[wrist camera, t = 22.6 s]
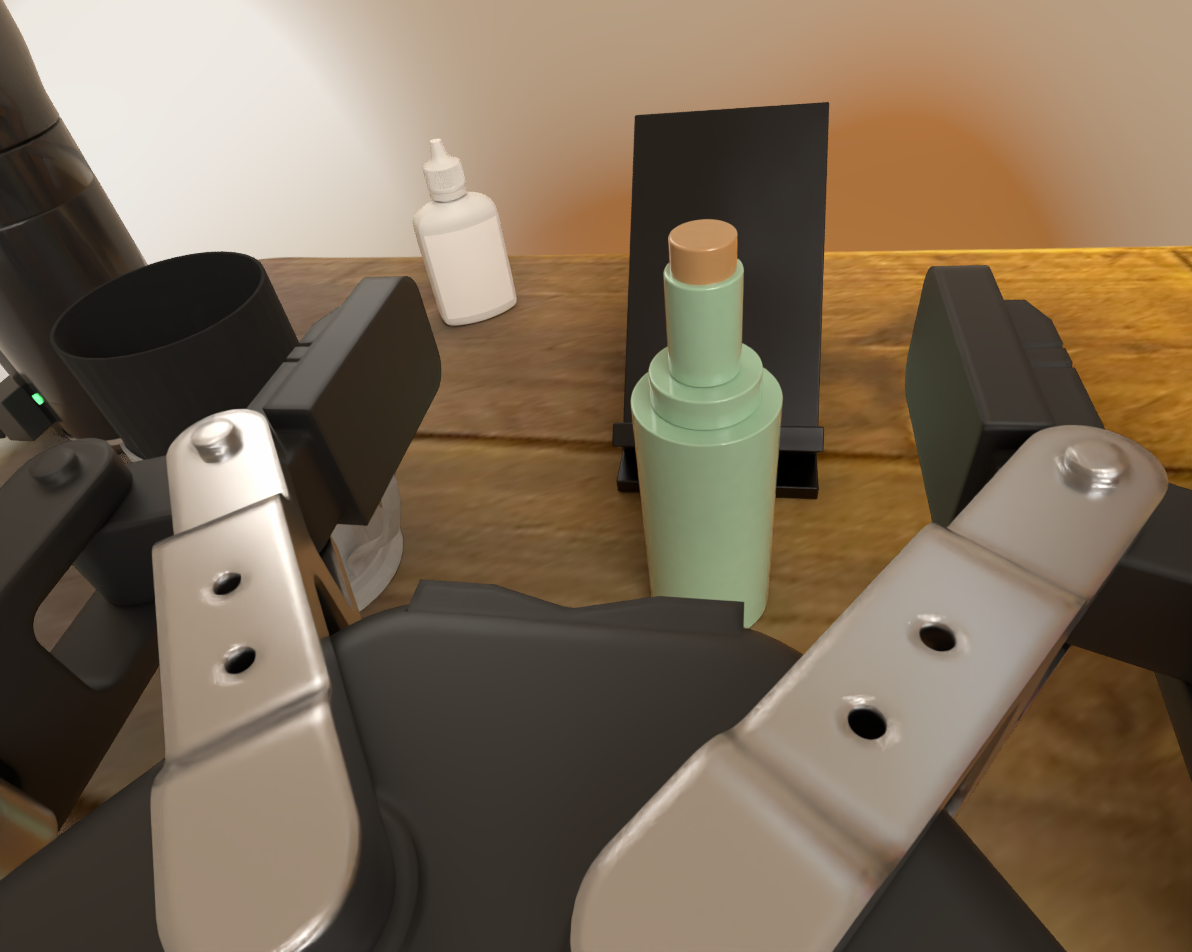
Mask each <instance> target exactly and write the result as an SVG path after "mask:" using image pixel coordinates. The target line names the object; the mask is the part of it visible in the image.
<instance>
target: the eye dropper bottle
mask: <svg viewBox="0 0 1192 952" xmlns="http://www.w3.org/2000/svg"><path fill="white" fill-rule="evenodd" d="M430 149H431V158H430V160H429V161H428V162H426V163H425V164H424V166H423V171H424V175H425V178H426V182H427V186H428V189H429V193H430V196H431V199H432V200H431V201H430V202H428V203H427V204H426V205H424V206H423V207H421V208H420V209H419V211H417V212H416V214H415V216H414V218H413V226H414V230H415V233H416V237H417V241H418V244H419V247H420V251H421V254H422V258H423V261H424V264H425V268H426V271H427V274H428V278H429V281H430V284H431V288H432V291H433V294H434V297H435V301H436V304H437V307H438V310H439V313H440V315H441V317H442V319H443V320H444V322H445V323H447V324H448V325H452V326H457V325H465V324H471V323H476V322H480V321H483V320H487V319H489V318H492V317H495V316H497V315H499V314H501V313H503V312H505V311H507V310H509V309H510V308H512V307H513V306H514V305H515V304H516V300H517V298H516V292H515V287H514V283H513V278H512V273H511V269H510V264H509V260H508V255H507V250H506V246H505V241H504V237H503V232H502V228H501V224H500V219H499V215H498V211H497V208H496V206H495V204H494V203H493V201H492V200H491V199H490V198H489V197H488V196H486V195H484V194H481V193H477V192H467V186H466V182H465V178H464V174H463V169H462V165H461V161H460V160H459V159H458V158H457V157H454V156H450V155H448V154H447V152H446V150H445V148H444V146H443V143H442V141H441V139H433V140H431V141H430Z"/></svg>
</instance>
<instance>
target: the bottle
mask: <svg viewBox="0 0 1192 952" xmlns="http://www.w3.org/2000/svg"><path fill="white" fill-rule="evenodd" d="M668 246H669V263H668V264H667V265H666V267H665V269H664V272H663V278H664V295H665V312H666V329H667V347H666V348H664V349H663V350H661V351H660V352H659V353H658V354H657V355H656V356H655V357H654V358H653V360H652V362H651V363H650V366H649V370H648V372H647V373H646V374H645V375H644V376H643V377H642V378H641V379H640V380H639V381H638V383H637V384H636V386H635V388H634V390H633V392H632V395H631V412H632V421H633V431H634V440H635V449H636V459H637V468H638V478H639V487H640V496H641V506H642V515H643V524H644V534H645V543H646V552H647V562H648V571H649V580H650V590H651V597H655V596H668V597H682V598H697V599H711V600H726V601H740V602H744V627H745V628H749V627H751V626H752V625H753V624H754V623H755V622H756V621H757V620H758V619H759V618H760V616H761V615H762V613H763V612H764V610H765V607H766V605H767V601H768V591H769V578H770V565H771V551H772V538H773V524H774V511H775V498H776V484H777V471H778V458H779V444H780V431H781V418H782V404H783V395H782V390H781V387H780V385H779V383H778V381H777V380H776V379H775V377H774V376H773V375H772V374H771V373H770V372H769V371H768V370H766V369H765V368H763V364H762V361H761V359H760V357H759V356H758V354H757V353H756V352H755V351H754V350H753V349H751V348H750V347H749V346H747V345H745V344H743V343H742V330H743V290H744V267H743V264H742V262H741V261H740V260H739V259H738V258H737V250H738V233H737V230H736V228H735V227H734V226H733V225H731V224H729V223H727V222H724V221H720V220H714V219H702V220H694V221H690V222H686V223H683V224H681V225H679V226H677V227H675V228H674V229H673V230H672V231H671V232H670V234H669V237H668Z"/></svg>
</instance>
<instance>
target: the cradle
mask: <svg viewBox="0 0 1192 952" xmlns="http://www.w3.org/2000/svg"><path fill="white" fill-rule="evenodd" d="M828 123H829V103H828V102H825V103H811V104H810V103H809V104H796V105H795V104H794V105H781V106H765V107H750V108H735V109H721V110H707V111H691V112H677V113H662V114H647V115H636V116H635V126H634V152H633V179H632V206H631V233H630V259H629V286H628V313H627V340H626V367H625V394H624V420H623V423H614V424H613V442H612V445H613V447H616V448H619V449H622V450H623V454H622V459H621V463H620V468H619V473H618V477H617V487H618V491H623V492H640V487H639V478H638V468H637V459H636V449H635V440H634V431H633V421H632V412H631V395H632V392H633V390H634V388H635V386H636V384H637V383H638V381H639V380H640V379H641V378H642V377H643V376H644V375H645V374H646V373H647V372H648V370H649V366H650V363H651V362H652V360H653V358H654V357H655V356H656V355H657V354H658V353H659V352H660V351H661V350H663V349H664V348H666V347H667V329H666V312H665V295H664V278H663V272H664V269H665V267H666V265H667V264H668V263H669V246H668V237H669V234H670V232H671V231H672V230H673V229H674V228H675V227H677V226H679V225H681V224H683V223H686V222H690V221H694V220H702V219H714V220H720V221H724V222H727V223H729V224H731V225H733V226H734V227H735V228H736V230H737V233H738V250H737V258H738V259H739V260H740V261H741V262H742V264H743V267H744V290H743V330H742V343H743V344H745V345H747V346H749V347H750V348H751V349H753V350H754V351H755V352H756V353H757V354H758V356H759V357H760V359H761V361H762V364H763V368H765V369H766V370H768V371H769V372H770V373H771V374H772V375H773V376H774V377H775V379H776V380H777V381H778V383H779V385H780V387H781V390H782V395H783V404H782V418H781V431H780V444H779V458H778V471H777V484H776V498H801V499H817V497H818V490H819V485H818V470H817V454H819V453H821V452H823V445H824V427H818V416H819V386H820V357H821V328H822V298H823V269H824V240H825V238H824V237H825V209H826V181H827V180H826V179H827V150H828Z"/></svg>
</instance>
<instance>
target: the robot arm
mask: <svg viewBox="0 0 1192 952" xmlns="http://www.w3.org/2000/svg"><path fill="white" fill-rule="evenodd" d="M144 266H147V263H146V261H145V259H144V258H143V256H142V254H141V253H140V251H139V249H138V248H137V246H136V244H135V243H134V241H133V239H132V238H131V236H130V234H129V232H128V231H127V229H126V227H125V226H124V224H123V222H122V220H121V219H120V217H119V215H118V214H117V212H116V210H115V209H114V207H113V205H112V203H111V202H110V200H109V198H108V197H107V195H106V193H105V192H104V190H103V189H102V186H101V185H100V183H99V181H98V180H97V178H96V176H95V175H94V173H93V172H92V170H91V168H90V166H89V165H88V163H87V161H86V160H85V158H84V156H83V155H82V153H81V151H80V149H79V148H78V146H77V144H76V143H75V141H74V139H73V138H72V136H71V134H70V133H69V131H68V129H67V128H66V126H65V124H64V122H63V121H62V119H61V118H60V117H59V113H58V112H57V110H56V109H55V107H54V105H53V103H52V102H51V100H50V98H49V96H48V95H47V93H46V91H45V89H44V87H43V85H42V82H41V80H40V77H39V75H38V72H37V70H36V67H35V65H34V62H33V60H32V57H31V55H30V52H29V50H28V47H27V45H26V43H25V41H24V38H23V36H22V34H21V33H20V30H19V28H18V27H17V25H16V23H15V21H14V19H13V18H12V16H11V14H10V12H9V10H8V9H7V7H6V5H5V3H4V2H3V0H0V364H1V365H2V366H3V368H4V369H5V370H6V371H7V373H8V374H9V376H8V377H7V378H6V379H4V380H3V381H2V382H1V383H0V438H6V436H7V437H8V438H9V439H10V440H18V441H35V440H36V439H37V438H38V437H39V436H40V435H41V434H42V433H43V432H45V431H46V430H47V429H48V428H49V427H50V426H52V427H53V428H54V430H55V431H56V432H57V433H58V435H59V436H67V437H68V438H69V439H70V441H69V442H65V443H62V444H59V445H57V446H54V447H52V448H50V449H48V450H46V451H44V452H42V453H40V454H38V455H37V456H35V457H34V458H32V459H31V460H29V461H28V462H27V463H25V464H24V465H23V466H22V467H21V468H20V469H18V470H17V471H16V472H15V473H14V474H13V475H12V476H11V477H10V478H9V480H8V481H7V482H6V483H5V484H4V485H3V486H2V487H1V488H0V952H1066V950H1065V949H1064V948H1063V947H1062V946H1061V945H1060V943H1059V942H1058V941H1057V940H1056V939H1055V937H1054V936H1053V935H1052V934H1051V933H1050V932H1049V930H1048V929H1047V928H1046V927H1045V926H1044V925H1043V923H1042V922H1041V921H1040V920H1039V919H1038V918H1037V916H1036V915H1035V914H1034V913H1033V912H1032V910H1031V909H1030V908H1029V907H1028V906H1027V905H1026V903H1025V902H1024V901H1023V900H1022V899H1021V898H1020V896H1019V895H1018V894H1017V893H1016V892H1015V890H1014V889H1013V888H1012V887H1011V886H1010V885H1009V883H1008V882H1007V881H1006V880H1005V879H1004V878H1003V876H1002V875H1001V874H1000V873H999V872H998V871H997V869H996V868H995V867H994V866H993V865H992V863H991V862H990V861H989V860H988V859H987V858H986V856H985V855H984V854H983V853H982V852H981V851H980V849H979V848H978V847H977V846H976V845H975V843H974V842H973V841H972V840H971V839H970V838H969V836H968V835H967V834H966V833H965V832H964V831H963V829H962V828H961V827H960V826H959V825H958V824H957V822H956V821H955V820H954V819H955V818H956V816H957V815H958V813H959V812H960V810H961V809H962V807H963V806H964V805H965V803H966V802H967V800H968V799H969V797H970V796H971V794H972V793H973V791H974V790H975V788H976V787H977V785H978V784H979V782H980V781H981V779H982V778H983V776H984V775H985V773H986V772H987V770H988V768H989V767H990V765H991V764H992V762H993V761H994V759H995V758H996V756H997V754H998V753H999V751H1000V750H1001V748H1002V747H1003V745H1004V744H1005V742H1006V741H1007V739H1008V738H1009V737H1010V735H1011V734H1012V732H1013V731H1014V729H1015V728H1016V726H1017V725H1018V724H1019V722H1020V721H1021V719H1022V718H1023V716H1024V715H1025V713H1026V712H1027V711H1028V709H1029V708H1030V706H1031V705H1032V703H1033V702H1034V701H1035V699H1036V698H1037V696H1038V695H1039V693H1040V692H1041V690H1042V689H1043V688H1044V686H1045V685H1046V683H1047V682H1048V680H1049V679H1050V677H1051V676H1052V675H1053V673H1054V672H1055V670H1056V669H1057V667H1058V666H1059V665H1060V663H1061V662H1062V660H1063V659H1064V657H1065V656H1066V654H1067V653H1068V652H1069V650H1070V649H1071V647H1072V646H1073V645H1074V646H1077V647H1080V648H1083V649H1086V650H1089V651H1093V652H1096V653H1099V654H1102V655H1105V656H1108V657H1111V658H1114V659H1117V660H1120V661H1123V662H1126V663H1129V664H1133V665H1136V666H1139V667H1142V668H1145V669H1148V670H1151V671H1154V672H1155V675H1156V678H1157V681H1158V684H1159V687H1160V690H1161V693H1162V696H1163V699H1164V702H1165V705H1166V708H1167V710H1168V713H1169V716H1170V719H1171V722H1172V725H1173V728H1174V731H1175V734H1176V737H1177V740H1178V743H1179V746H1180V749H1181V752H1182V755H1183V758H1184V760H1185V763H1186V766H1187V769H1188V772H1189V775H1190V778H1191V781H1192V490H1190V489H1186V488H1183V487H1179V486H1176V485H1174V484H1171V483H1168V477H1167V473H1166V471H1165V469H1164V467H1163V465H1162V464H1161V463H1160V461H1159V460H1158V459H1157V458H1156V457H1155V456H1154V455H1153V454H1152V453H1151V452H1150V451H1148V450H1147V449H1146V448H1144V447H1143V446H1141V445H1140V444H1138V443H1136V442H1135V441H1133V440H1131V439H1129V438H1127V437H1125V436H1122V435H1120V434H1117V433H1114V432H1111V431H1108V430H1105V428H1104V426H1103V424H1102V422H1101V420H1100V418H1099V416H1098V414H1097V412H1096V410H1095V407H1094V405H1093V403H1092V401H1091V399H1090V397H1089V395H1088V393H1087V391H1086V389H1085V387H1084V385H1083V383H1082V381H1081V379H1080V377H1079V375H1078V373H1077V371H1076V369H1075V368H1072V361H1071V359H1070V357H1069V355H1068V353H1067V351H1066V349H1065V348H1062V346H1063V342H1062V340H1061V338H1060V336H1059V334H1058V332H1057V330H1056V328H1055V326H1054V324H1053V322H1052V320H1051V319H1049V318H1048V317H1047V316H1046V315H1044V314H1043V313H1042V312H1040V311H1039V310H1038V309H1036V308H1035V307H1034V306H1033V305H1031V304H1030V303H1029V302H1027V301H1026V300H1003V297H1002V295H1001V293H1000V290H999V288H998V286H997V283H996V281H995V279H994V276H993V274H992V271H991V269H990V267H989V266H987V265H968V266H932V267H930V268H929V270H928V272H927V274H926V277H925V280H924V284H923V289H922V294H921V298H920V303H919V307H918V312H917V316H916V321H915V326H914V330H913V335H912V339H911V344H910V348H909V353H908V358H907V365H906V377H905V389H906V398H907V403H908V408H909V413H910V417H911V422H912V427H913V432H914V437H915V441H916V446H917V451H918V456H919V460H920V465H921V470H922V475H923V480H924V484H925V489H926V494H927V499H928V503H929V508H930V513H931V518H932V523H930V524H928V525H926V526H925V527H924V528H923V529H922V530H921V531H920V532H919V533H918V534H917V535H916V536H915V537H914V538H913V539H912V540H911V541H910V542H909V543H908V544H907V545H906V546H905V547H904V548H903V550H902V551H901V552H900V553H899V554H898V555H897V556H896V557H895V558H894V559H893V560H892V561H891V562H890V563H889V564H888V565H887V567H886V568H885V569H884V570H883V571H882V572H881V573H880V574H879V575H878V576H877V577H876V578H875V579H874V580H873V581H872V583H871V584H870V585H869V586H868V587H867V588H866V589H865V590H864V591H863V592H862V593H861V594H860V595H859V596H858V597H857V599H856V600H855V601H854V602H853V603H852V604H851V605H850V606H849V607H848V608H847V609H846V610H845V611H844V612H843V613H842V614H841V616H840V617H839V618H838V619H837V620H836V621H835V622H834V623H833V624H832V625H831V626H830V627H829V628H828V629H827V630H826V632H825V633H824V634H823V635H822V636H821V637H820V638H819V639H818V640H817V641H816V642H815V643H814V644H813V645H812V646H811V648H810V649H809V650H808V651H807V652H806V653H805V654H804V655H803V654H801V653H800V652H798V651H796V650H795V649H793V648H791V647H789V646H788V645H786V644H784V643H782V642H781V641H779V640H776V639H774V638H772V637H770V636H767V635H765V634H763V633H760V632H757V631H754V630H751V629H748V628H745V627H744V602H740V601H726V600H711V599H697V598H682V597H668V596H655V597H648V598H641V599H635V600H628V601H621V602H614V603H607V604H600V605H593V606H587V607H579V608H568V607H564V606H560V605H557V604H554V603H551V602H548V601H544V600H541V599H538V598H535V597H532V596H529V595H526V594H522V593H519V592H516V591H513V590H510V589H507V588H504V587H500V586H497V585H493V584H478V583H464V582H449V581H435V580H420V581H419V584H418V586H417V588H416V591H415V593H414V596H413V598H412V600H411V603H410V604H408V605H403V606H399V607H395V608H392V609H388V610H384V611H381V612H379V613H376V614H373V615H370V616H368V617H365V618H363V619H362V618H361V615H360V612H359V609H358V606H357V603H356V600H355V597H354V594H353V591H352V588H351V585H350V582H349V580H348V577H347V574H346V571H345V568H344V565H343V562H342V559H341V556H340V553H339V550H338V547H337V545H336V543H335V542H334V540H333V538H332V536H331V534H332V532H333V530H334V529H335V527H336V525H337V524H344V525H363V526H368V524H369V522H370V520H371V518H372V516H373V514H374V512H375V510H376V508H377V507H378V505H379V503H380V501H381V499H382V497H383V495H384V493H385V491H386V489H387V487H388V485H389V483H390V482H391V480H392V478H393V476H394V474H395V472H396V470H397V468H398V466H399V464H400V462H401V460H402V458H403V456H404V455H405V453H406V451H407V449H408V447H409V445H410V443H411V441H412V439H413V437H414V435H415V433H416V431H417V429H418V428H419V426H420V424H421V422H422V420H423V418H424V416H425V414H426V412H427V410H428V408H429V406H430V404H431V403H432V401H433V399H434V397H435V395H436V393H437V391H438V388H439V385H440V380H441V360H440V355H439V352H438V349H437V345H436V342H435V339H434V336H433V333H432V330H431V327H430V323H429V320H428V317H427V314H426V311H425V308H424V305H423V301H422V298H421V295H420V292H419V289H418V287H417V285H416V283H415V282H414V280H413V279H412V278H410V277H408V276H393V277H365V278H363V279H362V280H361V281H360V282H359V283H358V285H357V286H356V287H355V289H354V290H353V291H352V293H351V294H350V295H349V296H348V298H347V299H346V300H345V302H344V303H343V304H342V306H341V307H337V308H336V309H335V310H333V311H332V312H330V313H329V314H327V315H326V316H324V317H323V318H322V319H320V320H319V321H317V322H316V323H314V324H313V325H312V327H311V328H310V329H309V331H308V332H307V333H306V334H305V336H304V337H303V338H302V339H301V341H300V342H299V347H295V348H294V349H293V351H292V352H291V353H290V354H289V356H288V357H287V358H286V359H287V362H283V363H282V364H281V366H280V367H279V368H278V370H277V371H276V372H275V373H274V375H273V376H272V377H271V378H270V380H269V381H268V382H267V383H266V385H265V386H264V387H263V388H262V390H261V391H260V392H259V393H258V395H257V396H256V397H255V398H254V400H253V401H252V402H251V403H250V405H249V406H248V407H247V409H236V410H228V411H224V412H220V413H217V414H214V415H211V416H209V417H206V418H204V419H202V420H200V421H198V422H196V423H195V424H193V425H191V426H190V427H188V428H187V429H186V430H184V431H183V432H182V433H181V434H180V435H179V436H178V437H177V438H176V439H175V440H174V441H173V442H172V444H171V445H170V447H169V449H168V452H167V455H166V456H161V457H156V458H151V459H146V460H141V461H136V462H131V463H126V464H125V463H124V462H123V461H122V460H121V458H120V457H119V456H118V454H117V453H119V452H124V451H123V449H122V448H121V446H120V443H122V442H123V441H122V439H121V438H120V437H119V435H118V434H117V433H116V431H115V430H114V429H113V427H112V426H111V425H110V423H109V422H108V421H107V419H106V418H105V417H104V415H103V414H102V413H101V411H100V410H99V409H98V407H97V406H96V405H95V403H94V402H93V401H92V399H91V398H90V397H89V395H88V394H87V393H86V391H85V390H84V389H83V387H82V386H81V385H80V383H79V382H78V381H77V379H76V378H75V377H74V375H73V374H72V373H71V371H70V370H69V369H68V367H67V366H66V365H65V363H64V362H63V361H62V359H61V358H60V357H59V355H58V354H57V353H56V351H55V350H54V348H53V347H52V345H51V343H50V333H51V331H52V328H53V326H54V324H55V323H56V321H57V320H58V318H59V317H60V316H61V315H62V314H63V313H64V312H65V311H66V310H67V309H68V308H69V307H70V306H71V305H73V304H74V303H75V302H76V301H77V300H79V299H80V298H82V297H83V296H85V295H86V294H88V293H89V292H91V291H92V290H94V289H96V288H97V287H99V286H101V285H103V284H105V283H106V282H108V281H110V280H113V279H115V278H117V277H119V276H121V275H123V274H126V273H128V272H131V271H133V270H136V269H138V268H141V267H144ZM71 565H73V566H74V567H75V568H76V569H77V570H78V571H79V572H80V573H81V574H82V575H83V576H84V577H85V578H86V579H87V580H88V581H89V582H90V583H91V584H92V585H93V586H94V587H95V588H96V589H97V590H96V591H95V592H94V594H93V595H92V596H91V598H90V599H89V600H88V602H87V603H86V605H85V606H84V607H83V609H82V610H81V611H80V613H79V614H78V615H77V617H76V618H75V620H74V621H73V622H72V624H71V625H70V626H69V628H68V629H67V630H66V632H65V633H64V635H63V636H62V637H61V639H60V640H59V641H58V643H57V644H56V645H55V647H54V648H53V649H52V651H51V652H48V651H47V650H46V649H45V648H44V647H43V646H41V645H40V644H39V642H38V641H37V639H36V637H35V635H34V630H33V622H34V617H35V614H36V611H37V609H38V607H39V606H40V604H41V603H42V602H43V600H44V599H45V598H46V597H47V595H48V594H49V593H50V592H51V590H52V589H53V588H54V586H55V585H56V584H57V583H58V581H59V580H60V579H61V578H62V576H63V575H64V574H65V573H66V571H67V570H68V569H69V567H70V566H71ZM159 665H160V677H161V691H162V705H163V720H164V734H165V749H166V758H164V759H163V760H162V761H160V762H159V763H157V764H156V765H155V766H153V767H152V768H151V769H149V770H148V771H147V772H145V773H144V774H143V775H141V776H140V777H138V778H137V779H136V780H134V781H133V782H132V783H130V784H129V785H128V786H126V787H125V788H123V789H122V790H121V791H119V792H118V793H117V794H115V795H114V796H113V797H111V798H110V799H109V800H107V801H106V802H104V803H103V804H102V805H100V806H99V807H98V808H96V809H95V810H94V811H92V812H91V813H90V814H88V815H87V816H85V817H84V818H83V819H81V820H80V821H79V822H77V823H76V824H75V825H73V826H72V827H71V828H69V829H68V830H66V831H65V832H64V833H62V834H61V835H60V836H58V837H57V835H58V832H59V830H60V828H61V827H62V825H63V824H64V822H65V820H66V819H67V817H68V815H69V814H70V812H71V810H72V809H73V807H74V805H75V804H76V802H77V800H78V799H79V797H80V795H81V794H82V792H83V790H84V789H85V787H86V785H87V784H88V782H89V780H90V779H91V777H92V776H93V774H94V772H95V771H96V769H97V767H98V766H99V764H100V762H101V761H102V759H103V757H104V756H105V754H106V752H107V751H108V749H109V747H110V746H111V744H112V742H113V741H114V739H115V737H116V736H117V734H118V732H119V731H120V729H121V728H122V726H123V724H124V723H125V721H126V719H127V718H128V716H129V714H130V713H131V711H132V709H133V708H134V706H135V704H136V703H137V701H138V699H139V698H140V696H141V694H142V693H143V691H144V689H145V688H146V686H147V684H148V683H149V681H150V680H151V678H152V676H153V675H154V673H155V671H156V670H157V668H158V666H159Z"/></svg>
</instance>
